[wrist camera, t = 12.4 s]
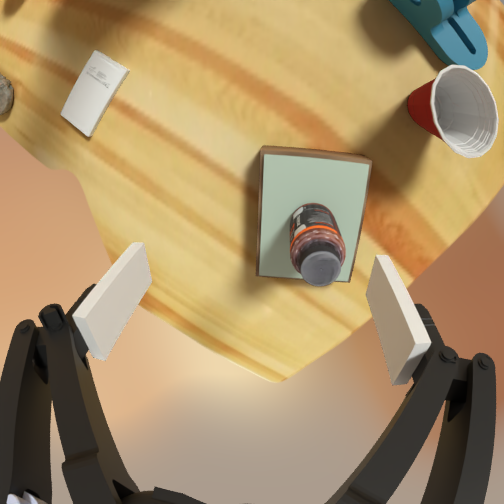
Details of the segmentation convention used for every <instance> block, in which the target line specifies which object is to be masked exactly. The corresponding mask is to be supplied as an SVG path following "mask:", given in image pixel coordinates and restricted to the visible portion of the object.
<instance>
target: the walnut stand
mask: <svg viewBox="0 0 504 504" xmlns="http://www.w3.org/2000/svg"><path fill="white" fill-rule="evenodd" d="M371 167H372V161H371V160H370V159H368V158H367V157H365V156H364V155H358V154H351V153H343V152H335V151H326V150H317V149H306V148H294V147H280V146H262V148H261V150H260V178H259V205H258V232H257V257H256V276H260V277H274V278H287V279H301V280H304V279H303V277H302V275H301V274H300V273H298V272H297V271H296V270H295V268H294V266H293V265H292V262H291V259H290V220H291V217H292V215H293V213H294V212H295V210H296V209H298V208H299V207H300V206H302V205H304V204H307V203H319V204H322V205H324V206H326V207H327V208H328V209H329V210H330V211H331V212H332V214H333V215H334V217H335V220H336V222H337V225H338V228H339V230H340V233H341V236H342V238H343V241H344V244H345V248H346V257H345V261H344V264H343V265H342V267H341V272H340V274H339V276H338V278H337V279H336V280H335V281H334V282H349V283H350V280H351V276H352V271H353V267H354V263H355V258H356V254H357V249H358V244H359V239H360V234H361V229H362V224H363V218H364V213H365V207H366V201H367V195H368V188H369V182H370V175H371Z"/></svg>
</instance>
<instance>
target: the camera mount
mask: <svg viewBox="0 0 504 504" xmlns="http://www.w3.org/2000/svg"><path fill="white" fill-rule="evenodd" d="M389 1H390V2H391V3H392V4H393V5H394V6H395V7H396V8H397V9H398V10H399V11H400V12H401V13H402V15H403V16H404V17H405V18H406V19H407V20H408V21H409V22H410V23H411V24H412V26H413V27H414V28H415V29H416V30H417V31H418V33H419V34H420V35H421V36H422V37H423V39H424V40H425V41H426V42H427V44H428V45H429V46H430V48H431V49H432V50H433V51H434V53H435V54H436V55H437V56H438V58H439V59H440V60H441V61H443V62H444V63H445V64H446V65H448V66H450V65H463V66H466V67H468V68H470V69H471V70H476V69H480V68H481V67H483V66H484V64H485V62H486V60H487V56H488V48H487V43H486V39H485V37H484V34H483V32H482V30H481V29H480V27H479V26H478V24H477V23H476V21H475V20H474V19H473V17H472V16H471V15H470V13H469V12H468V10H467V6H468V5H469V4H471V3H472V2H474V1H476V0H389Z"/></svg>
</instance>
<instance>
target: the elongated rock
mask: <svg viewBox="0 0 504 504" xmlns="http://www.w3.org/2000/svg"><path fill="white" fill-rule="evenodd" d="M10 83H11V82H10V80H7V79H6V77H5V76H3V75H1V74H0V115H1V114H4V113H6V112H7V111H8V110H10V108H11V105H12V102H13V96H14V95H13V88H12V86H11V85H10Z"/></svg>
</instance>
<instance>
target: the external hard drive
mask: <svg viewBox="0 0 504 504" xmlns="http://www.w3.org/2000/svg"><path fill="white" fill-rule="evenodd" d="M129 72H130V70H128V69H127V68H125V67H124V66H122V65H121V64H119V63H118V62H115V61H113V60H112V59H111V58H110V57H108V56H107V55H105V54H103V53H102V52H100V51H98V50H94V52H93V54H92V55H91V57H90V58H89V60H88V62H87V63H86V65H85V67H84V68H83V70H82V72H81V74H80V76H79V77H78V79H77V81H76V83H75V85H74V87H73V89H72V91H71V92H70V94H69V96H68V98H67V101H66V103H65V105H64V107H63V109H62V111H61V115H62V116H63V117H64V118H65V119H67V120H68V121H69V122H70V123H72V124H73V125H74V126H75V127H76V128H78V129H79V130H80V131H81V132H82V133H84V134H85V135H86V136H88V137H90V136H92V135H93V134H94V132H95V130H96V128H97V126H98V124H99V122H100V120H101V118H102V116H103V115H104V113H105V111H106V109H107V108H108V106H109V104H110V102H111V101H112V99H113V97H114V96H115V94H116V92H117V91H118V89H119V87H120V86H121V84H122V83H123V81H124V79H125V78H126V76H127V75H128V73H129Z"/></svg>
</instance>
